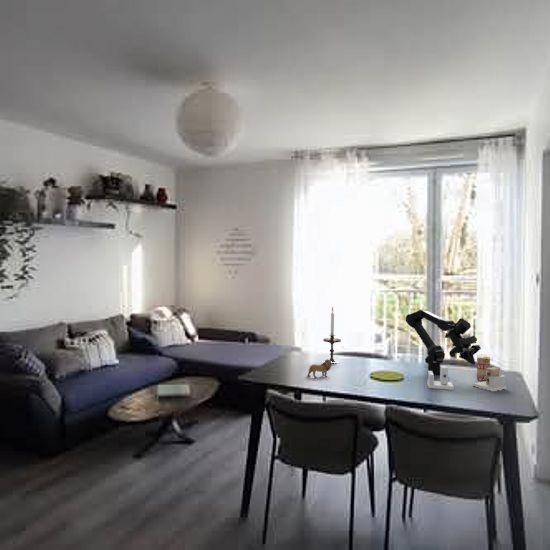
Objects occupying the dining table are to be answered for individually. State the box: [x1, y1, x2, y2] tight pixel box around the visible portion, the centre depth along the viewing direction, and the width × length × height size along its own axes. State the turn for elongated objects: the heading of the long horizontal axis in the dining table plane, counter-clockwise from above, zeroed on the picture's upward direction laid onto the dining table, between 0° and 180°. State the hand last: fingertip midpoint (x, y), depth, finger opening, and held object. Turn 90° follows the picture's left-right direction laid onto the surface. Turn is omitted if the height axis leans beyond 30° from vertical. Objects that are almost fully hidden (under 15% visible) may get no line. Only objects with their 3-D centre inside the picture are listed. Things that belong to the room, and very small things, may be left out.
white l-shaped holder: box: [472, 374, 507, 392], centre depth 240 cm, size 12×10×6 cm
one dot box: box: [426, 370, 455, 390], centre depth 241 cm, size 12×10×6 cm
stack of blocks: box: [476, 353, 491, 380], centre depth 266 cm, size 21×6×12 cm, turn 157°
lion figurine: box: [306, 358, 333, 378], centre depth 258 cm, size 15×5×9 cm, turn 113°
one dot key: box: [439, 364, 449, 384], centre depth 240 cm, size 3×6×8 cm, turn 167°
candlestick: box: [322, 306, 342, 362], centre depth 298 cm, size 11×11×35 cm
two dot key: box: [486, 367, 500, 385], centre depth 238 cm, size 3×6×8 cm, turn 120°
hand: (474, 364), depth 247 cm, fingers closed
